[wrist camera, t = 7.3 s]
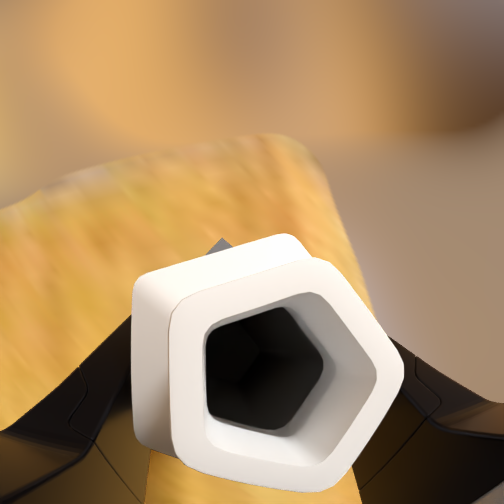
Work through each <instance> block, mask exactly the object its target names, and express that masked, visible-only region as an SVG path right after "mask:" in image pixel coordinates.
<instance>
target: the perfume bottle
mask: <svg viewBox="0 0 504 504" xmlns="http://www.w3.org/2000/svg"><path fill="white" fill-rule="evenodd" d="M403 379H404V363H403V361H402V359H401V357H400V355H399V353H398V351H397V349H396V348H395V346H394V345H393V343H392V342H391V340H390V339H389V338H388V336H387V335H386V333H385V332H384V331H383V329H382V328H381V326H380V325H379V324H378V322H377V321H376V319H375V318H374V317H373V315H372V314H371V313H370V311H369V310H368V308H367V307H366V306H365V304H364V303H363V302H362V300H361V299H360V298H359V296H358V295H357V294H356V292H355V291H354V290H353V288H352V287H351V286H350V284H349V283H348V282H347V280H346V279H345V278H344V276H343V275H342V274H341V273H340V272H339V271H338V270H337V269H336V268H335V267H334V266H333V265H332V264H331V263H330V262H327V261H324V260H321V259H318V258H315V257H314V258H312V257H311V256H310V255H309V253H308V252H307V251H306V249H305V248H304V247H303V246H302V244H301V243H300V242H299V241H298V240H297V239H296V238H295V237H294V236H292V235H289V234H286V233H285V234H277V235H274V236H270V237H267V238H263V239H260V240H256V241H253V242H250V243H246V244H243V245H239V246H236V247H233V248H229V249H226V250H223V251H219V252H216V253H212V254H209V255H206V256H202V257H199V258H196V259H192V260H189V261H186V262H182V263H179V264H176V265H172V266H169V267H166V268H162V269H159V270H156V271H152V272H149V273H146V274H144V275H142V276H140V277H139V278H138V280H137V281H136V282H135V284H134V288H133V294H132V320H131V384H132V409H133V425H134V432H135V436H136V438H137V439H138V441H139V442H140V443H141V444H142V445H144V446H146V447H148V448H150V449H152V450H155V451H158V452H161V453H164V454H166V455H169V456H172V457H175V458H178V459H180V460H181V461H182V462H183V463H184V464H185V465H186V466H188V467H190V468H192V469H195V470H197V471H199V472H201V473H205V474H208V475H212V476H216V477H220V478H224V479H228V480H232V481H237V482H242V483H246V484H251V485H257V486H262V487H268V488H274V489H280V490H287V491H294V492H321V491H323V490H325V489H327V488H330V487H332V486H334V485H335V484H336V483H337V482H338V481H339V480H340V479H341V478H342V477H343V476H344V475H345V474H346V472H347V471H348V470H349V468H350V467H351V465H352V464H353V463H354V461H355V460H356V458H357V457H358V456H359V454H360V453H361V451H362V450H363V448H364V447H365V446H366V444H367V443H368V441H369V440H370V438H371V436H372V435H373V433H374V432H375V430H376V429H377V427H378V426H379V424H380V422H381V421H382V419H383V418H384V416H385V414H386V413H387V411H388V409H389V408H390V406H391V404H392V402H393V401H394V399H395V397H396V395H397V394H398V392H399V389H400V387H401V384H402V381H403Z"/></svg>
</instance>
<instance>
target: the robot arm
mask: <svg viewBox="0 0 504 504" xmlns="http://www.w3.org/2000/svg"><path fill="white" fill-rule="evenodd" d="M131 320H132V314H131V315H130V316H129V317H128V318H127V319H126V320H125V321H124V322H123V323H122V324H121V325H120V326H119V327H118V328H117V329H116V330H115V331H114V332H113V333H112V334H111V335H110V336H109V337H107V338H106V339H105V340H104V341H103V342H102V343H101V344H100V345H99V346H98V347H97V348H96V349H95V350H94V351H93V352H92V353H91V354H90V355H89V356H88V357H87V358H86V359H85V360H84V361H83V362H82V363H81V364H80V365H79V367H80V368H79V367H77V368H76V369H75V370H74V371H73V372H72V373H71V374H70V375H69V376H68V377H67V378H66V379H65V380H64V381H63V382H62V383H61V384H60V385H59V386H58V387H56V388H55V389H54V390H53V391H52V392H51V393H50V394H48V395H47V396H46V397H45V398H44V399H43V400H41V401H40V402H39V403H38V404H36V405H35V406H34V407H33V408H32V409H30V410H29V411H28V412H27V413H25V414H24V415H23V416H22V417H21V418H19V419H18V420H17V421H16V422H15V423H13V424H12V425H11V426H9V427H7V428H6V429H4V430H2V431H0V504H144V501H145V492H146V483H147V475H148V467H149V460H150V453H151V449H150V448H148V447H146V446H144V445H142V444H141V443H140V442H139V441H138V439H137V438H136V436H135V432H134V425H133V409H132V384H131ZM388 338H389V339H390V340H391V342H392V343H393V345H394V346H395V348H396V349H397V351H398V353H399V355H400V357H401V359H402V361H403V363H404V379H403V381H402V384H401V387H400V389H399V392H398V394H397V395H396V397H395V399H394V401H393V402H392V404H391V406H390V408H389V409H388V411H387V413H386V414H385V416H384V418H383V419H382V421H381V422H380V424H379V426H378V427H377V429H376V430H375V432H374V433H373V435H372V436H371V438H370V440H369V441H368V443H367V444H366V446H365V447H364V448H363V450H362V451H361V453H360V454H359V456H358V457H357V458H356V460H355V461H354V463H353V464H352V469H353V472H354V475H355V479H356V482H357V486H358V489H359V494H360V497H361V501H362V504H504V403H496V402H492V401H489V400H487V399H485V398H483V397H481V396H479V395H477V394H476V393H474V392H472V391H471V390H469V389H467V388H466V387H464V386H462V385H460V384H459V383H457V382H455V381H454V380H452V379H450V378H449V377H447V376H445V375H444V374H442V373H441V372H439V371H437V370H436V369H435V368H433V367H431V366H430V365H429V364H427V363H426V362H424V361H423V360H422V359H420V358H419V357H417V356H416V357H415V355H414V354H413V353H412V352H410V351H408V350H407V349H406V348H404V347H403V346H402V345H400V344H399V343H397V342H396V341H394V340H393V339H392V338H390V337H389V336H388Z"/></svg>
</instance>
